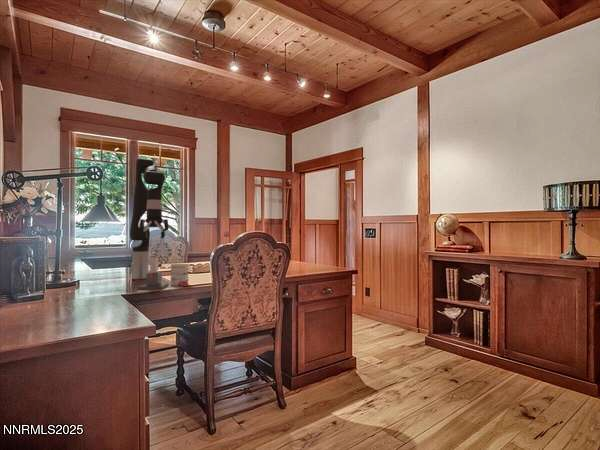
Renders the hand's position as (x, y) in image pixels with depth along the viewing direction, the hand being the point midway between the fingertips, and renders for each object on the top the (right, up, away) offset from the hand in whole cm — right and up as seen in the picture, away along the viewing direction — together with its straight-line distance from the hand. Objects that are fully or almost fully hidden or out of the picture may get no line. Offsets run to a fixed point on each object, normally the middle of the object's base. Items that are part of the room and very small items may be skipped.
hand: (154, 238), depth 187 cm
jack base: (0, -27, 0) cm, 26 cm away
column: (0, -25, 0) cm, 25 cm away
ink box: (+10, -27, +10) cm, 30 cm away
